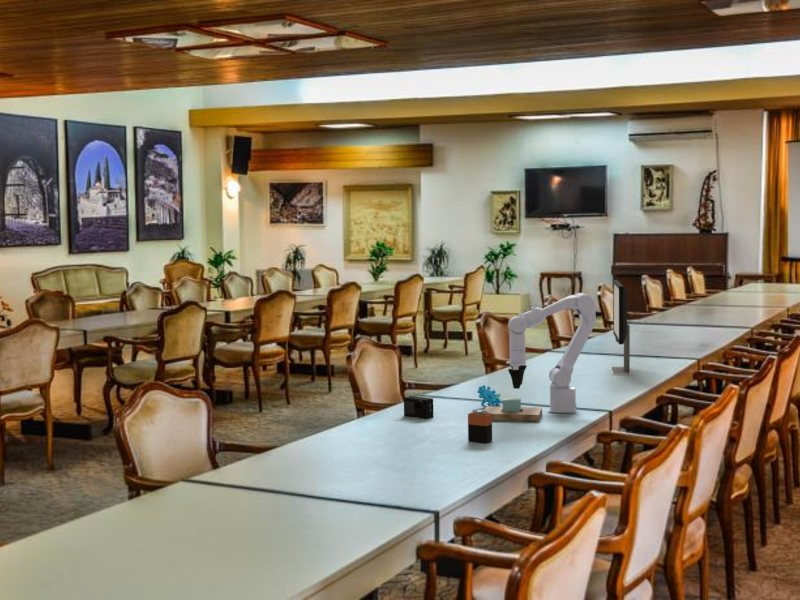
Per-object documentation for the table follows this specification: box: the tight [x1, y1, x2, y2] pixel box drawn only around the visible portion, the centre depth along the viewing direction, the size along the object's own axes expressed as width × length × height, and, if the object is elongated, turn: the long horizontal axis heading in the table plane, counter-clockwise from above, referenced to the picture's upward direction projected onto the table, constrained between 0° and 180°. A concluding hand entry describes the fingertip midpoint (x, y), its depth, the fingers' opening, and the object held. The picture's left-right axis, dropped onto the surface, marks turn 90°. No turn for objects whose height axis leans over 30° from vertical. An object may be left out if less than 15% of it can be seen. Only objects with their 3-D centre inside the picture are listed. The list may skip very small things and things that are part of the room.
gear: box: [477, 384, 502, 407], centre depth 399 cm, size 11×6×10 cm
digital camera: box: [403, 395, 434, 420], centre depth 379 cm, size 10×5×7 cm, turn 51°
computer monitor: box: [609, 279, 632, 376], centre depth 474 cm, size 41×8×40 cm, turn 172°
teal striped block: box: [502, 397, 522, 412], centre depth 375 cm, size 6×4×6 cm, turn 78°
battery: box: [467, 409, 493, 444], centre depth 337 cm, size 4×7×10 cm, turn 58°
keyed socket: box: [484, 405, 543, 423], centre depth 375 cm, size 20×14×2 cm
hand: (517, 386), depth 384 cm, fingers open, 7 cm apart
